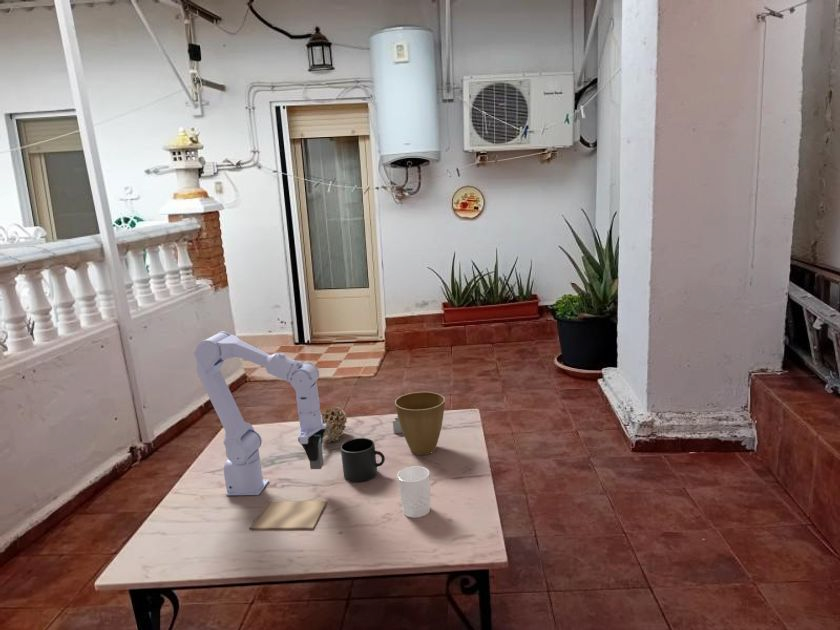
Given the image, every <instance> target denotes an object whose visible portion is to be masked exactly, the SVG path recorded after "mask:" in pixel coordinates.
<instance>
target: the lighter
mask: <svg viewBox="0 0 840 630" xmlns="http://www.w3.org/2000/svg"><path fill="white" fill-rule="evenodd" d="M392 430H393V434H395V435H396V434H403V431H402V428H401V425H400V422H399V419H398V415H397V416H395V417H394V418H393V419H392Z"/></svg>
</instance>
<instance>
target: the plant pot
mask: <svg viewBox="0 0 840 630" xmlns="http://www.w3.org/2000/svg"><path fill="white" fill-rule="evenodd" d="M445 402H446V398H445V396H443V395H442V394H439V393H437V392H431V391H416V392H410V393H406V394H404V395H400V396H398V397H397V398H396V399H395V400H394V406H395V409H396V410H395V411H396V415H397V416H398V419H399V422H400V425H401V428H402V431H403V433H402V434H403V436H404V439H405V441H406V444H407V446H408V448H409V450H410V452H411V453H413V454H414V455H417V454H418V456H425V455H424V454H427V455H430V454H432V453H434V452H435V451H434V450H436V448H437V445H438V442H439V439H440V435H441V430H442V425H443V421H444V413H445V405H446V403H445ZM433 451H434V452H433ZM431 452H432V453H431ZM429 453H430V454H429Z"/></svg>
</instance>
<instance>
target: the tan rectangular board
mask: <svg viewBox="0 0 840 630" xmlns="http://www.w3.org/2000/svg"><path fill="white" fill-rule="evenodd" d="M327 503H328V502H327V501H326V500H321V501H320V500H317V501H316V500H315V501H313V500H309V501H307V500H306V501H305V500H304V501H301V500H300V501H266V503H265V504H264V506H263V507H262V509H261V510H260V511H259V513H258V514H257V516H256V517H255V519H254V520H253V522H252V523H251V524H250V526H249V527H248V529H249V530H250V531H251V530H252V531H254V530H256V531H257V530H260V531H261V530H262V531H263V530H266V531H268V530H271V531H272V530H279V531H280V530H282V531H283V530H285V531H286V530H314V529H315V527H316V525H317V523H318V522H319V519H320V517H321V515H322V513H323V511H324V509H325V507H326V505H327Z"/></svg>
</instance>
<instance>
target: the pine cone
mask: <svg viewBox="0 0 840 630" xmlns="http://www.w3.org/2000/svg"><path fill="white" fill-rule="evenodd" d="M346 414H347V413H346V411H344V410H343V409H341V406H340V407H339V406H337V405H335V407H334V408H333V407H330V408H329V409H325V411H322V412H321V415H322V417H323V422H322V423H323V424H326V425H327V426H326V430H325V432H324V436H323V440H322V444H323V443H324V442H325V443H328V444H329V443H330V444H331V442H332V441H333V442H337V441H339V440H340V438H339V437H341V436H343V434H344V431H345V430H346V428H347V426H346V423H347V422H348V421H347V419H348V418H347V416H346Z"/></svg>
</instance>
